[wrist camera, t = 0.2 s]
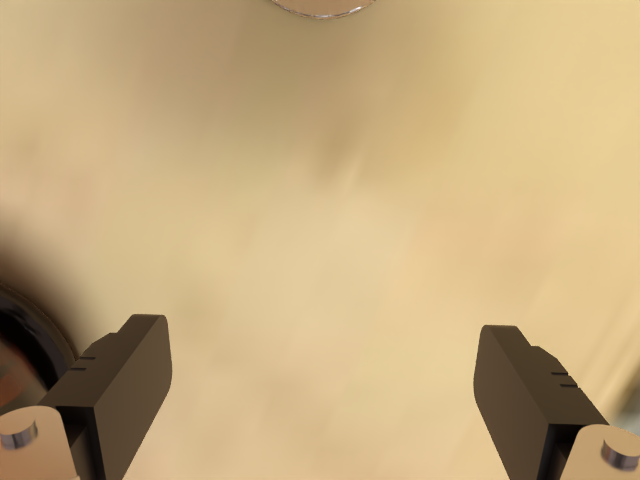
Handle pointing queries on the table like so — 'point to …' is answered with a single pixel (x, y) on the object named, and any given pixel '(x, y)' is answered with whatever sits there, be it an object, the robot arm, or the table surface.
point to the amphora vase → (28, 353)
